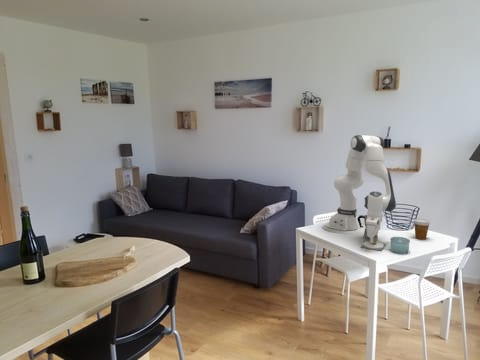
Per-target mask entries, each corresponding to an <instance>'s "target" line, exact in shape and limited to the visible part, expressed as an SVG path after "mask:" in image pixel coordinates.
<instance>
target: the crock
mask: <svg viewBox="0 0 480 360" xmlns="http://www.w3.org/2000/svg"><path fill="white" fill-rule="evenodd" d="M410 242H411V239H408V238H407V237H403V236H392V237H390V249H389V250H390V251H391V252H392V253H395V254H398V255H407V254H409V252H410Z"/></svg>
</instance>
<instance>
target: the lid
mask: <svg viewBox="0 0 480 360" xmlns="http://www.w3.org/2000/svg"><path fill="white" fill-rule="evenodd" d="M373 239H374V242H373V243H370V240H365V241H366V242H365V241H364V242H363V244H364V246H365V247H367V248H372V249H381V248H383V247H384V245H383V244H384V243H382V242H379V241H377V240H376V237H374V238H373ZM384 248H385V247H384ZM384 248H383V249H384Z"/></svg>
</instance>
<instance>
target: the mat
mask: <svg viewBox="0 0 480 360" xmlns="http://www.w3.org/2000/svg"><path fill="white" fill-rule="evenodd" d="M366 241H367V240H365V241H364V242H366ZM382 244H383V245H384V246H385V247H386V243H382ZM385 247H383V248H381V249H372V248H367V247H365V246H364V243H363V244H362V245H361V246H360V249H361V248H362V249H365V250H370V251H372V250H373V251H378V252H382V251H383V250H384V249H385Z"/></svg>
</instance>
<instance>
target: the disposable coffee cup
mask: <svg viewBox="0 0 480 360" xmlns="http://www.w3.org/2000/svg"><path fill="white" fill-rule="evenodd" d="M413 223H414V235H415V237H414V238H416V240H421V241H422V240H427V235H428V231H429V227H430V224H431V223H430V220H428V219H425V218H415V219H414V220H413Z"/></svg>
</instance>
